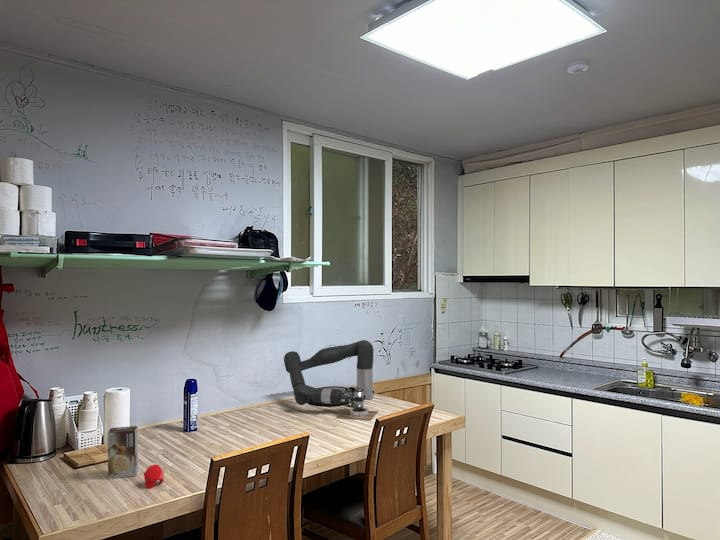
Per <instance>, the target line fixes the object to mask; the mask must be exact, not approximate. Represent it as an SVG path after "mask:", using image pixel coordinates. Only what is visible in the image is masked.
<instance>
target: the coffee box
mask: <svg viewBox="0 0 720 540" xmlns="http://www.w3.org/2000/svg"><path fill="white" fill-rule="evenodd" d="M138 455H139V454H138V425H133V426H132V425H131V426H122V427H121V426H120V427H111V428H110V429H109V430H108V432H107V479H108V478H113V479H118V478H119V479H120V478H130V477H136V476H137V474H138V472H139V469H138V468H139V467H138V464H139V463H138V461H139V460H138V457H139V456H138Z"/></svg>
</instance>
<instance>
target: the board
mask: <svg viewBox="0 0 720 540" xmlns="http://www.w3.org/2000/svg"><path fill="white" fill-rule="evenodd" d="M349 410H350V409H344V410H342V411H341V412H340V413H339V414H338V415H337V416H336V417H335V419H339V420H353V421H354V420H355V421H370V422H371V421H372V419H374V418H375V416H376V415H377V413H379V411H378V410H369V415H368V416H366V417H352V416H350V415H349Z"/></svg>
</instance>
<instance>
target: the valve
mask: <svg viewBox="0 0 720 540" xmlns="http://www.w3.org/2000/svg"><path fill="white" fill-rule="evenodd" d="M363 395H364V393H363ZM364 401H365V400H363V406H364V405H365V404H364ZM345 407H347V408H354V402H353V403H346V406H345Z"/></svg>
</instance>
